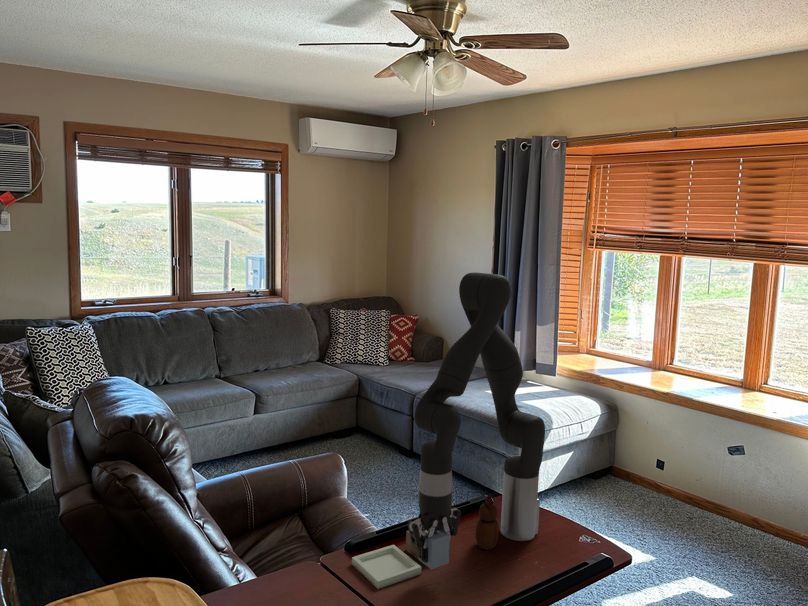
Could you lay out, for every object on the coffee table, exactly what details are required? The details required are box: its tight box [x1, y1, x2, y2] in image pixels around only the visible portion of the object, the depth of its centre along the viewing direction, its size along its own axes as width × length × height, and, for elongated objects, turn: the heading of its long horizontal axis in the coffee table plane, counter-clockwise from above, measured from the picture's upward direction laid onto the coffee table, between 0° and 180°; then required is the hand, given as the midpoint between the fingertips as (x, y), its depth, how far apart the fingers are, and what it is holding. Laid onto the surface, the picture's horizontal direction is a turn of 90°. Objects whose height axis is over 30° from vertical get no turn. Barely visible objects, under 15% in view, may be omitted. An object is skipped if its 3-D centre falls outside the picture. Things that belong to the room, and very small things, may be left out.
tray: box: [351, 544, 422, 590], centre depth 153 cm, size 12×12×2 cm
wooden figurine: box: [475, 492, 499, 551], centre depth 164 cm, size 7×6×15 cm
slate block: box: [418, 530, 450, 571], centre depth 147 cm, size 5×5×7 cm
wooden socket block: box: [405, 530, 452, 566], centre depth 160 cm, size 8×8×5 cm
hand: (433, 557), depth 147 cm, fingers closed on slate block, 5 cm apart
